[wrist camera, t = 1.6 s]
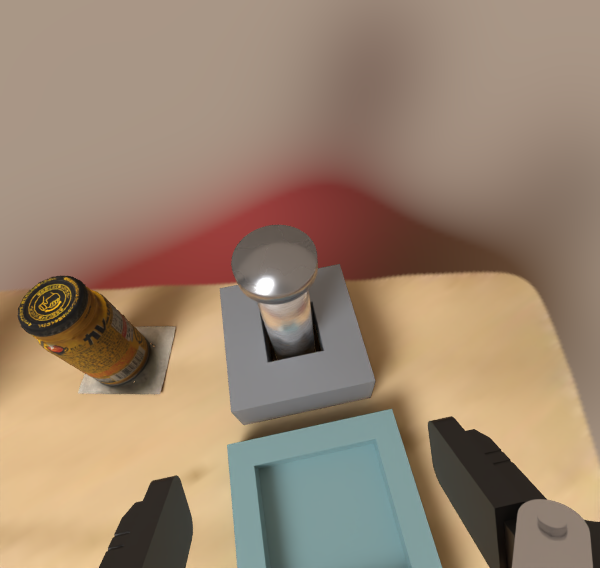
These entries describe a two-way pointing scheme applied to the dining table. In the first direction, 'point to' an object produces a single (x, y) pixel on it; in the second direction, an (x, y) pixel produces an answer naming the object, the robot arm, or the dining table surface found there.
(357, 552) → the tray
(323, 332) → the socket block
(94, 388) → the condiment
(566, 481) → the dining table surface
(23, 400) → the dining table surface
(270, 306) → the steel pin
